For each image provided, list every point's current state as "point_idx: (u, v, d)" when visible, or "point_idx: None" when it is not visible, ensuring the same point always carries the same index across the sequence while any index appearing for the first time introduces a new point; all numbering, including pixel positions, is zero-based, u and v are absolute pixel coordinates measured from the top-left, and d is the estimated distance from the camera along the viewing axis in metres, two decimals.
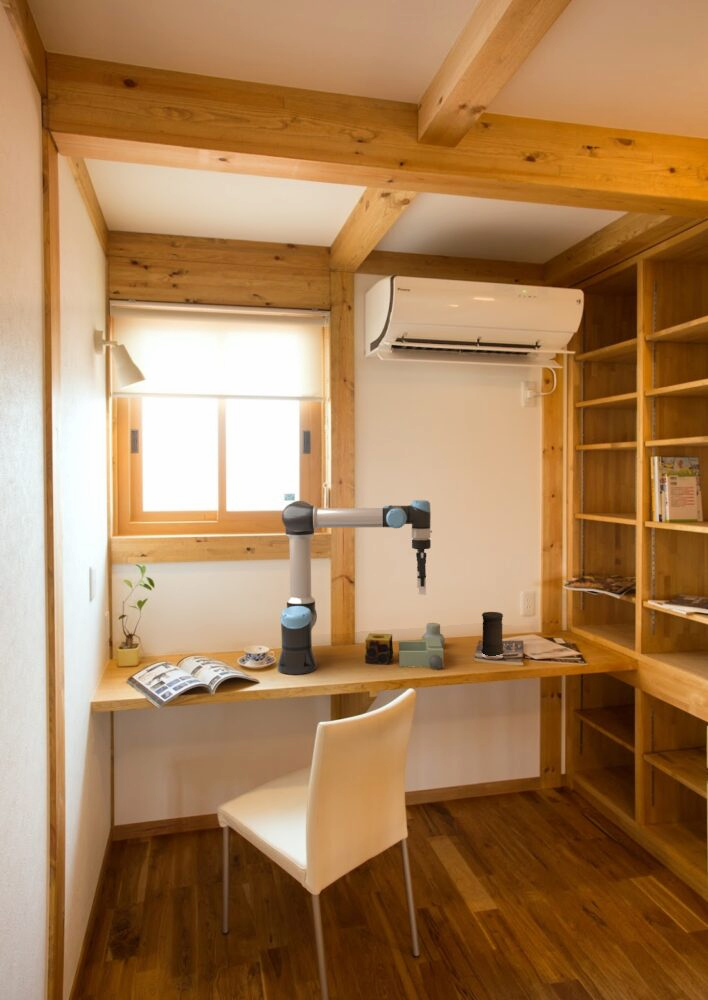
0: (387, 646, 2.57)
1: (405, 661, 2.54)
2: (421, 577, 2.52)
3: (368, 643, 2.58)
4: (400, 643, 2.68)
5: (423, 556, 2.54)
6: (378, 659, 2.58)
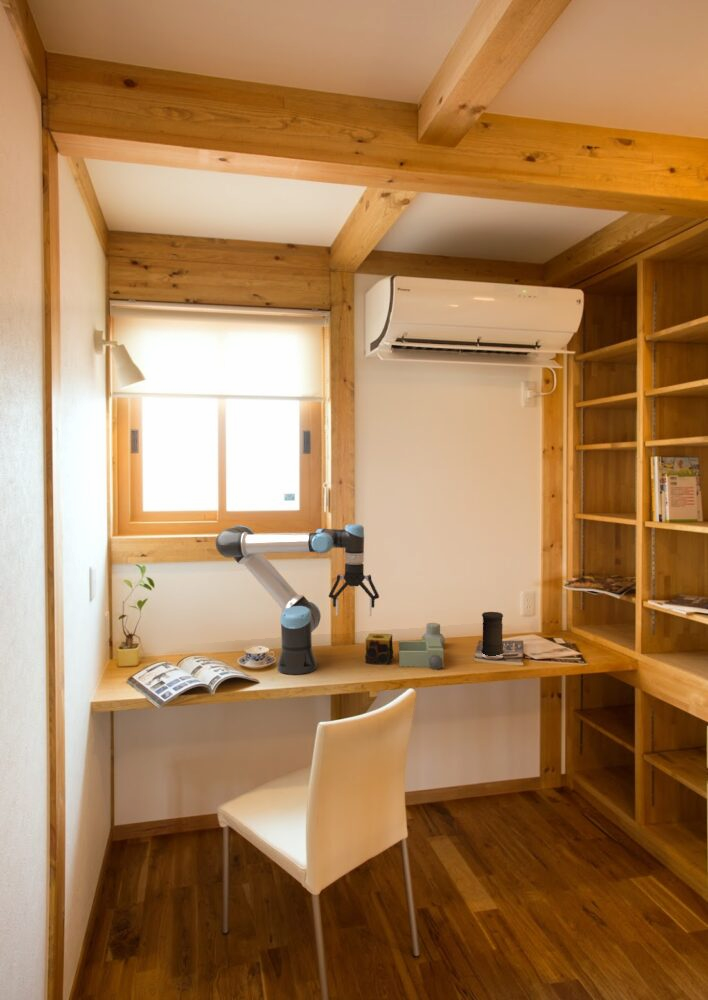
0: (387, 646, 2.57)
1: (405, 661, 2.54)
2: (330, 596, 2.62)
3: (368, 643, 2.58)
4: (400, 643, 2.68)
5: None
6: (378, 659, 2.58)
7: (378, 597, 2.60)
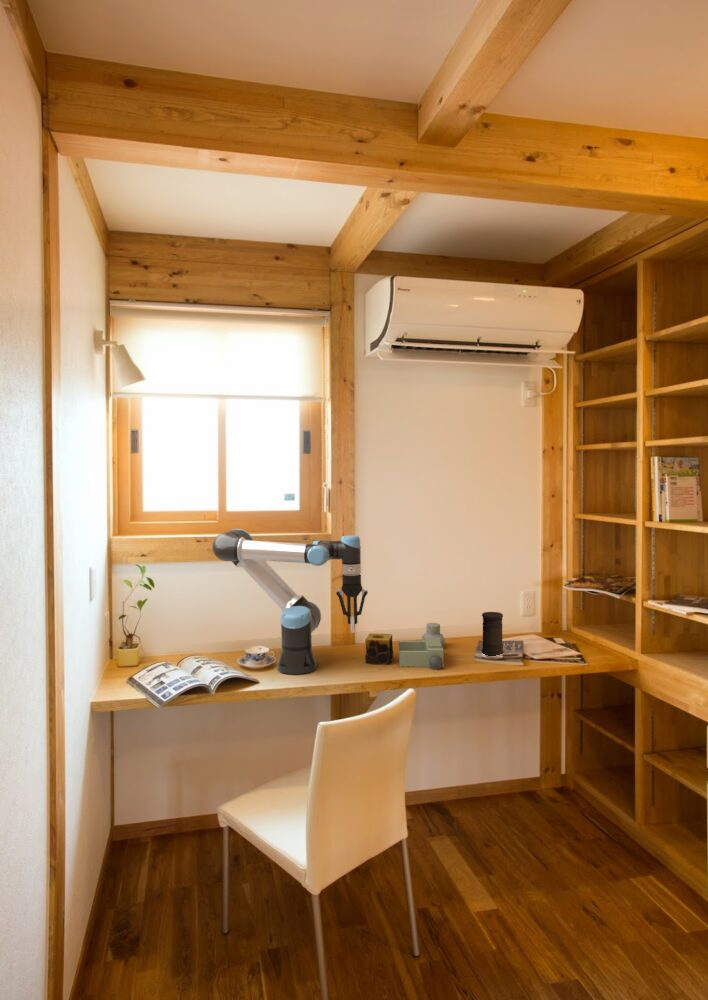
0: (387, 646, 2.57)
1: (405, 661, 2.54)
2: None
3: (368, 643, 2.58)
4: (400, 643, 2.68)
5: None
6: (378, 659, 2.58)
7: (360, 614, 2.61)
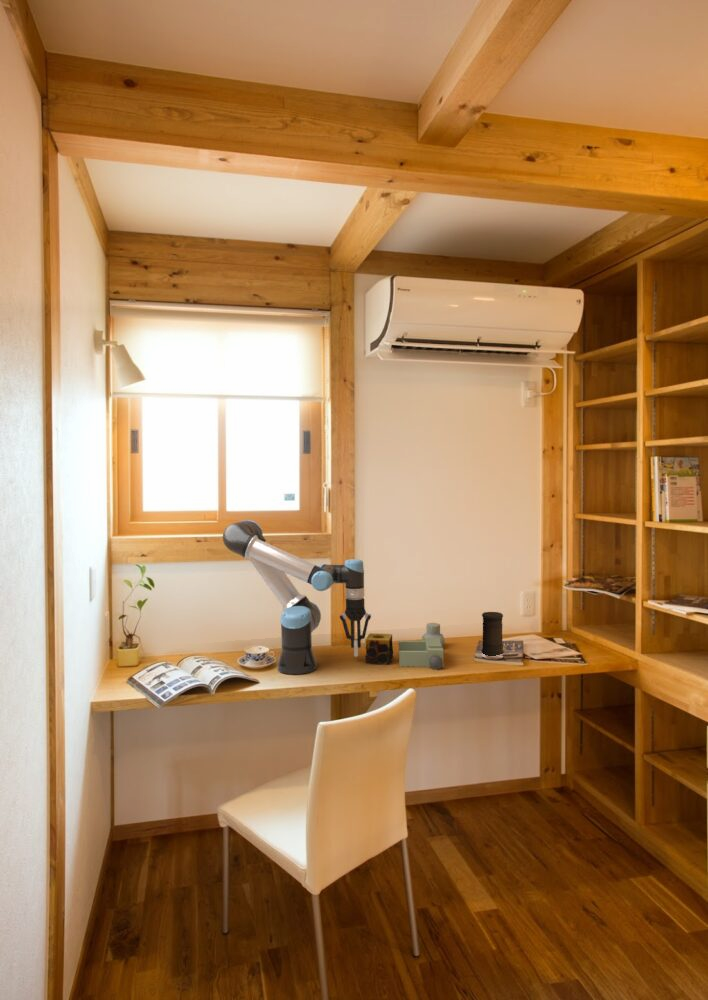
0: (387, 646, 2.57)
1: (405, 661, 2.54)
2: None
3: (368, 643, 2.58)
4: (400, 643, 2.68)
5: None
6: (378, 659, 2.58)
7: (363, 638, 2.61)
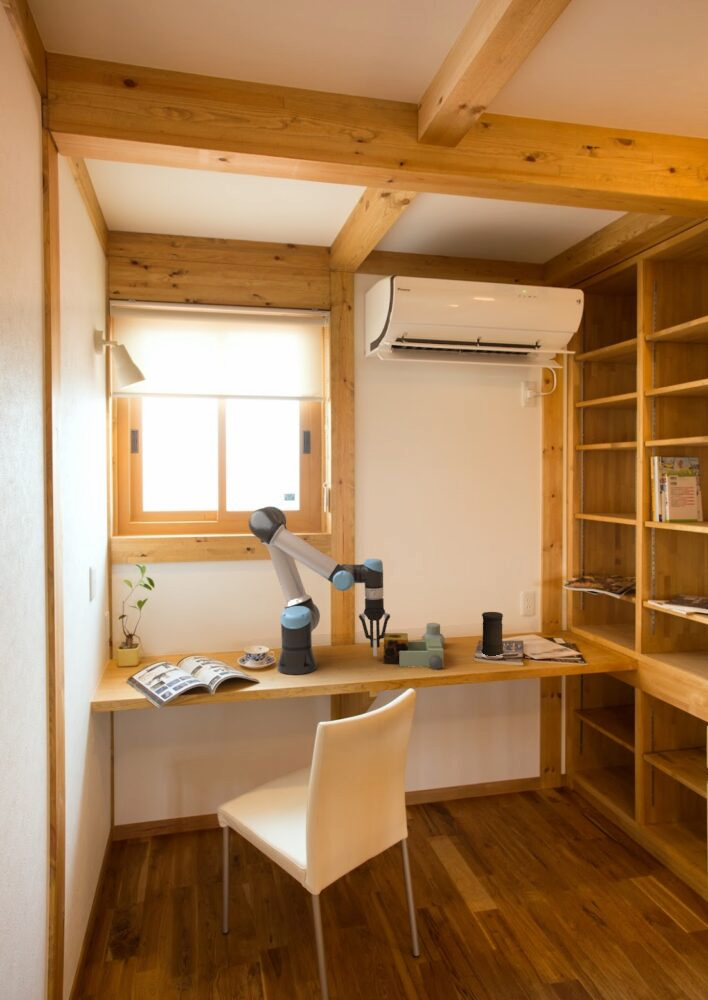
0: (406, 645, 2.57)
1: (405, 661, 2.54)
2: None
3: (387, 643, 2.58)
4: None
5: None
6: (397, 658, 2.58)
7: None
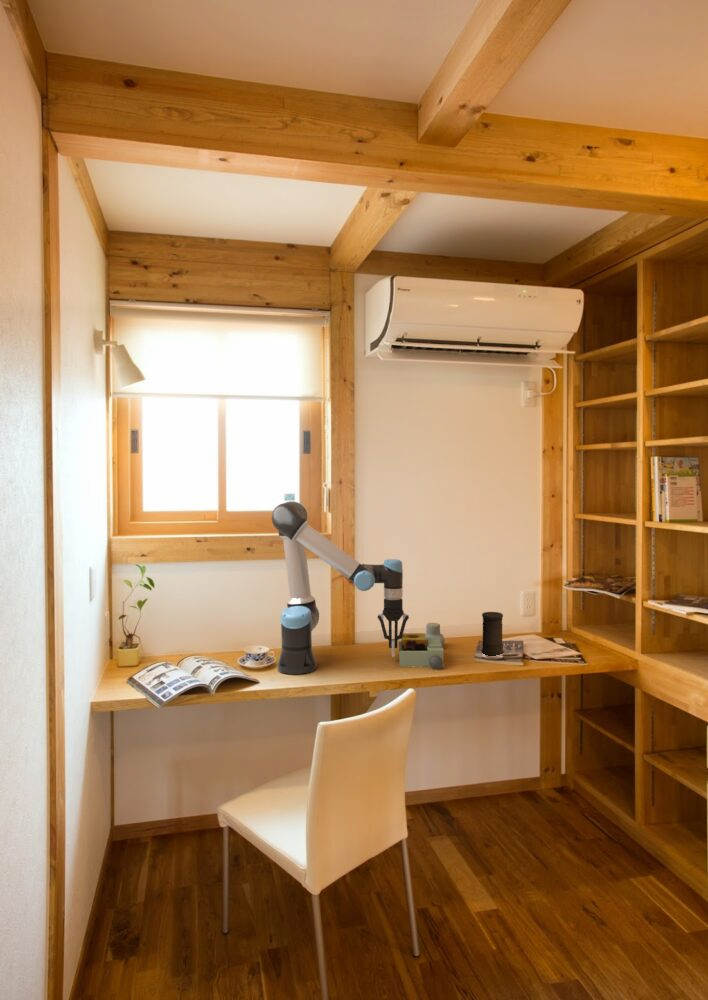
0: (424, 645, 2.57)
1: (405, 661, 2.54)
2: None
3: (405, 643, 2.58)
4: (400, 643, 2.68)
5: (379, 619, 2.61)
6: None
7: (400, 638, 2.60)
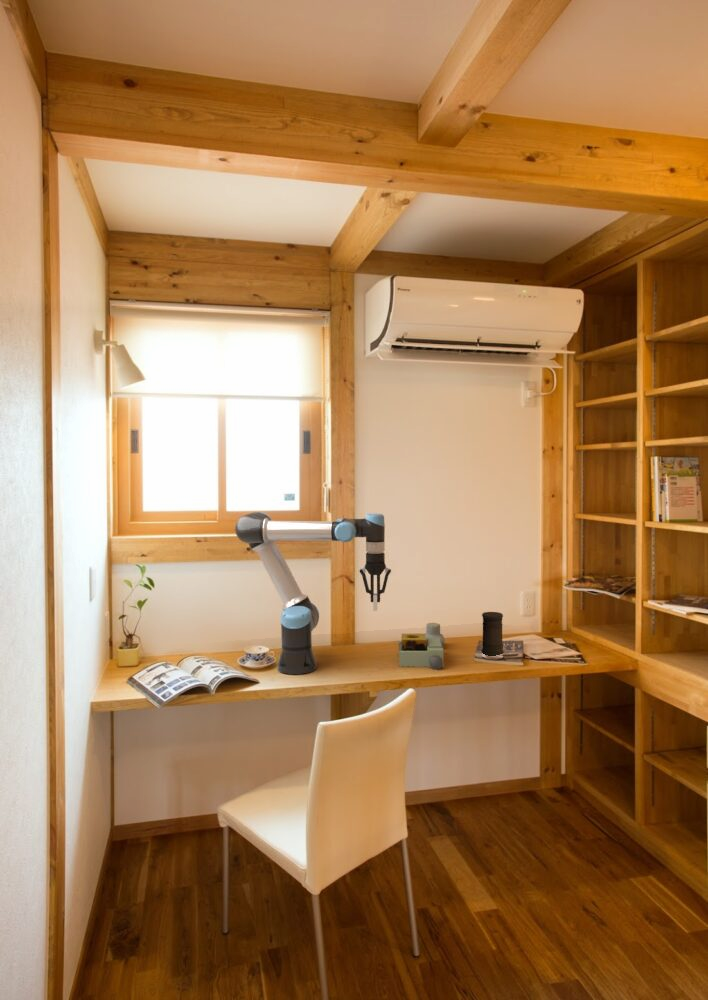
0: (424, 645, 2.57)
1: (405, 661, 2.54)
2: None
3: (405, 643, 2.58)
4: (400, 643, 2.68)
5: (361, 573, 2.61)
6: None
7: (383, 592, 2.60)
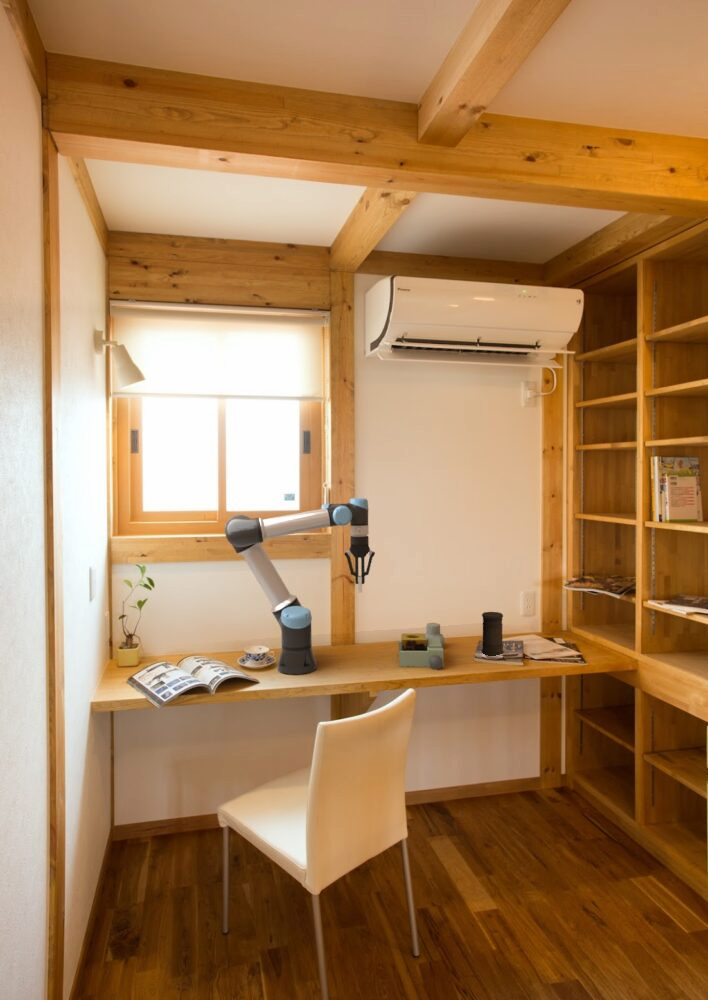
0: (424, 645, 2.57)
1: (405, 661, 2.54)
2: None
3: (405, 643, 2.58)
4: (400, 643, 2.68)
5: None
6: None
7: (367, 574, 2.69)
